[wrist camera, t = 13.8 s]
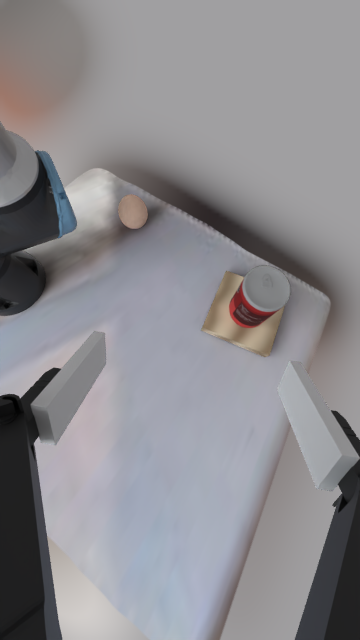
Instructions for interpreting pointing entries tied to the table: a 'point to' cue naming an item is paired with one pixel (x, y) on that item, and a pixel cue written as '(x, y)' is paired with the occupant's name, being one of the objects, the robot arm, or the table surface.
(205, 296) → the table surface
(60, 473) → the table surface
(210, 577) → the table surface
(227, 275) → the maple stand
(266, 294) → the canned food
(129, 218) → the egg
